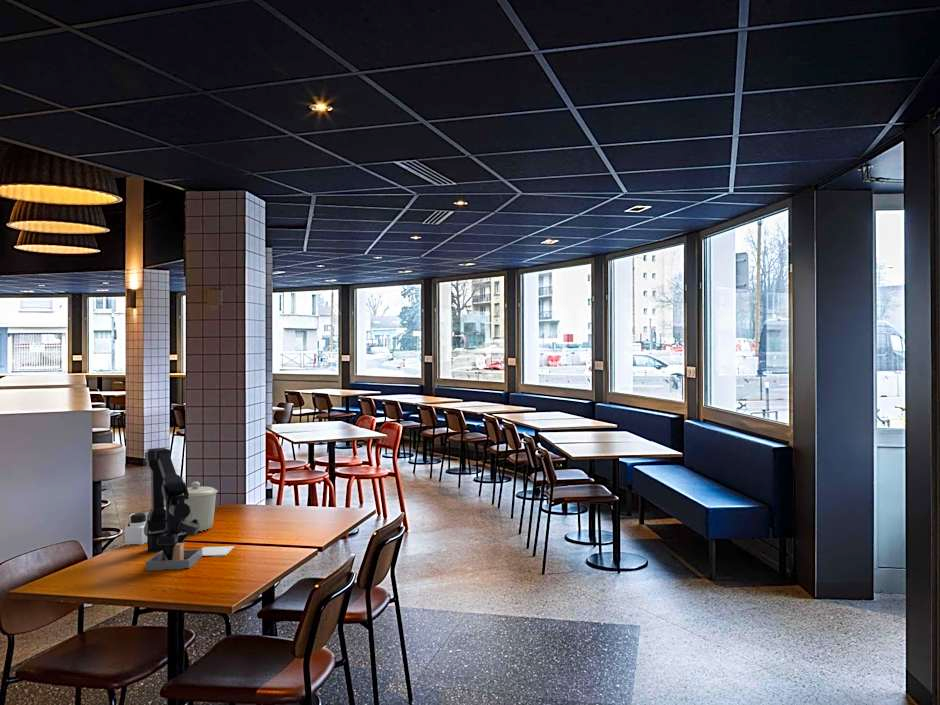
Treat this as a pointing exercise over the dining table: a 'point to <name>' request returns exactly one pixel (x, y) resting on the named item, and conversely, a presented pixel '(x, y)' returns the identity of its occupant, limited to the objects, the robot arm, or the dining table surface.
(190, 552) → the grey tray
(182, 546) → the block
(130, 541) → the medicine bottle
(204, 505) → the canister
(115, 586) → the dining table surface
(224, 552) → the white flat square slab
